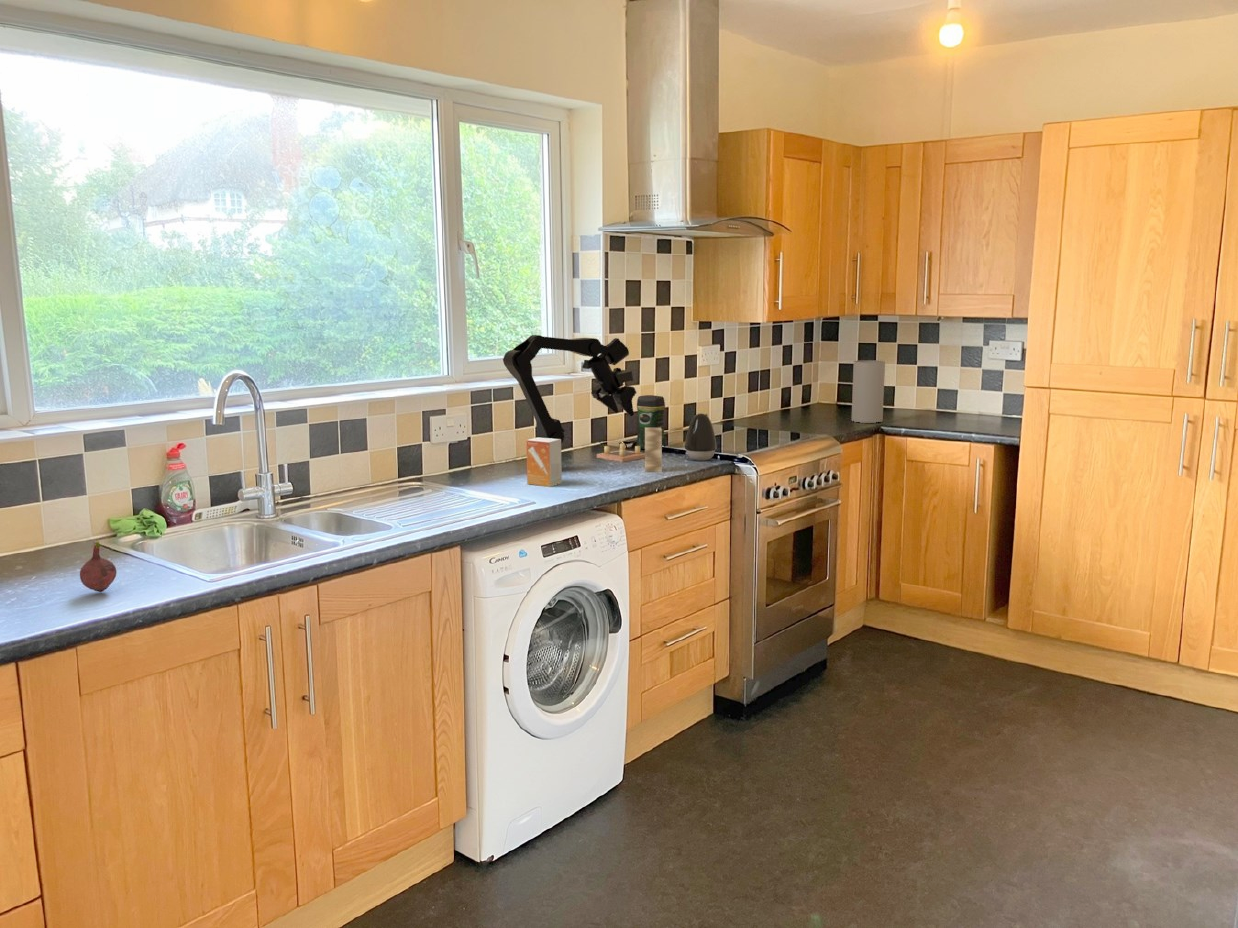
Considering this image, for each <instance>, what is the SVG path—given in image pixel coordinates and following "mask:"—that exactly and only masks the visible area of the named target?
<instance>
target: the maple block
mask: <svg viewBox="0 0 1238 928" xmlns="http://www.w3.org/2000/svg"><path fill="white" fill-rule="evenodd" d="M662 450H663V448H662V429H661V428H645V449H644V453H645V458H644V471H645V473H662V470H663V469H662V467H663V466H662V465H663V464H662V463H663V461H662V460H663V459H662V456H663V455H662V452H663V451H662Z"/></svg>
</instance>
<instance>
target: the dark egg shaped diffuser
mask: <svg viewBox="0 0 1238 928" xmlns="http://www.w3.org/2000/svg"><path fill="white" fill-rule="evenodd" d="M684 444H685V445H684V449H685V452H686V455H687V457H688V458H690V459H691V460H693V461H696V462H697V461H698V462H699V461H700V462H705V461H709V460H711V459H712V458H713V457H714V455H715V452H716V450H717V439H716V434H715V431H714V426H713V424H712V421H711V419H710V417H709V415H708V413H702V412H700V413H697V414H696V415H694V417H692V418H691V421H690V423H689V426H688V430H687V433H686V436H685V443H684Z"/></svg>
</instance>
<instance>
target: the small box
mask: <svg viewBox="0 0 1238 928" xmlns="http://www.w3.org/2000/svg"><path fill="white" fill-rule="evenodd" d="M536 437H537V436H536ZM536 437H533V438H529V439H526V483H527V485H534V486H540V487H541V486H542V487H547V488H552V487H554V485H555V486H558V485H560V484H562V483H563V482H562V480H563V479H562V475H563V473H562V471H563V470H562V444H561V439H553V438H540V437H537V438H536ZM557 484H558V485H557ZM551 486H552V487H551Z"/></svg>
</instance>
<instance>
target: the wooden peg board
mask: <svg viewBox="0 0 1238 928" xmlns="http://www.w3.org/2000/svg"><path fill="white" fill-rule="evenodd" d="M603 447H604V448H603V450H604V452H601V453H596V458H597V459H604V460H610V461H615V462H620V463H623V462H624V463H626V462H629V461H635V460H639V459H645V452H641V448H640V446H637V445H635V446H634V451H633V450H627V449H626V443H619V449H618V450H612V451H611V446H609V445H605V446H604V445H603Z"/></svg>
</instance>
